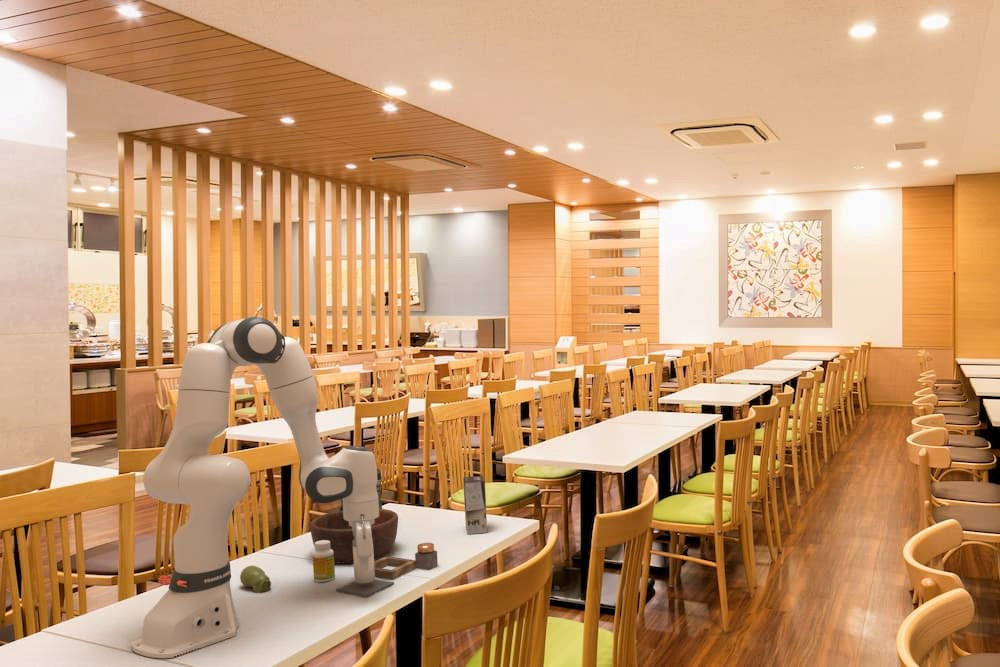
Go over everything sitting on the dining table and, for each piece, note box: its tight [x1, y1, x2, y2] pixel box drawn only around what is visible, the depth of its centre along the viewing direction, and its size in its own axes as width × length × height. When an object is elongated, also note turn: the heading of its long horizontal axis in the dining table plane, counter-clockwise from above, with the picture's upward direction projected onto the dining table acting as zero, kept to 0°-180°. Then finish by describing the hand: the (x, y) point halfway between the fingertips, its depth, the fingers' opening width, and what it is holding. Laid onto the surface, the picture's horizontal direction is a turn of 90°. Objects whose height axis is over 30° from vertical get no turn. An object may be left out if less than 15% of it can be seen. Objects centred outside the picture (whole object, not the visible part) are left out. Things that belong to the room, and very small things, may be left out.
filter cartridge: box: [352, 538, 376, 583], centre depth 202 cm, size 5×5×10 cm
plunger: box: [416, 542, 435, 554], centre depth 217 cm, size 4×4×5 cm
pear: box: [239, 565, 272, 593], centre depth 207 cm, size 6×5×10 cm
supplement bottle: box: [312, 540, 336, 583], centre depth 211 cm, size 5×5×10 cm
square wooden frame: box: [374, 550, 439, 581], centre depth 215 cm, size 14×14×4 cm
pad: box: [336, 578, 395, 598], centre depth 202 cm, size 10×10×1 cm
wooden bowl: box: [309, 508, 399, 564], centre depth 233 cm, size 25×25×10 cm
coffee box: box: [462, 475, 488, 535], centre depth 252 cm, size 9×6×16 cm
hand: (363, 565), depth 202 cm, fingers closed on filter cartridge, 5 cm apart
